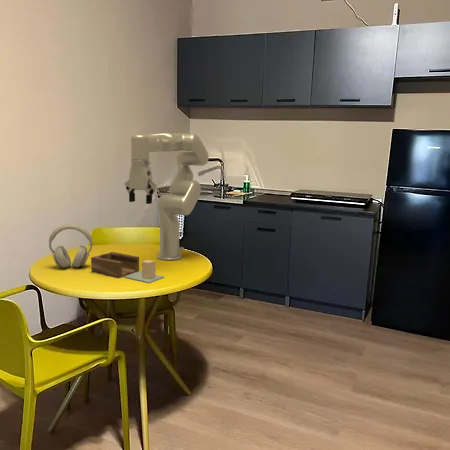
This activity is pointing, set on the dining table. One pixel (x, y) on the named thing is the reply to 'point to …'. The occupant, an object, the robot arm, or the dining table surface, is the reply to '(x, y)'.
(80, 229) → the headphones
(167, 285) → the dining table surface
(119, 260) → the walnut box
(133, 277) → the cover plate
